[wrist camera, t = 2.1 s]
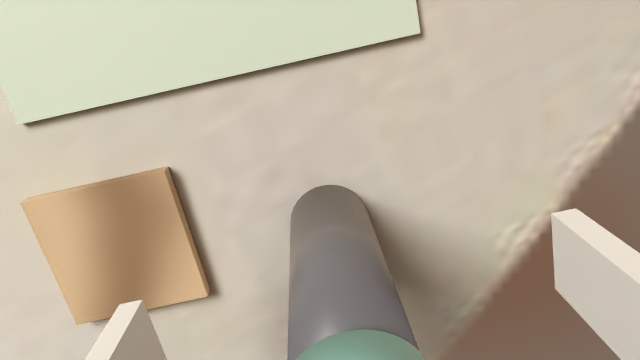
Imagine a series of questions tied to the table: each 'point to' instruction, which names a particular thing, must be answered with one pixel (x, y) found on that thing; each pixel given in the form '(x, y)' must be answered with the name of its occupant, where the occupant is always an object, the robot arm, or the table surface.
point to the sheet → (169, 44)
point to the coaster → (118, 244)
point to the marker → (342, 284)
